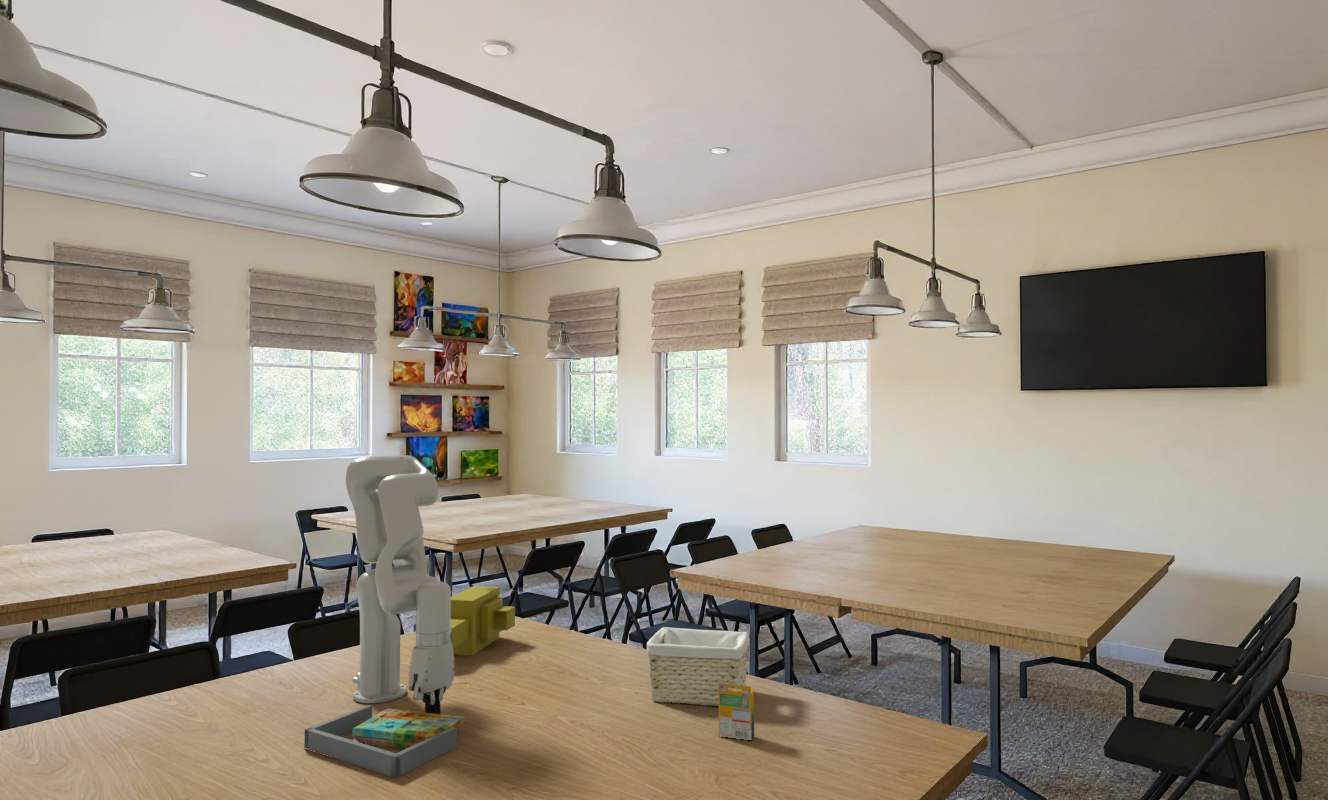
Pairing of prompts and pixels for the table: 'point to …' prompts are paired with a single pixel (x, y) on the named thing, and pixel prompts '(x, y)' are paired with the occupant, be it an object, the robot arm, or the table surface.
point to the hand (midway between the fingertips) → (432, 719)
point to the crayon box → (736, 712)
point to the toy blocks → (478, 619)
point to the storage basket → (695, 664)
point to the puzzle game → (403, 727)
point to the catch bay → (369, 757)
